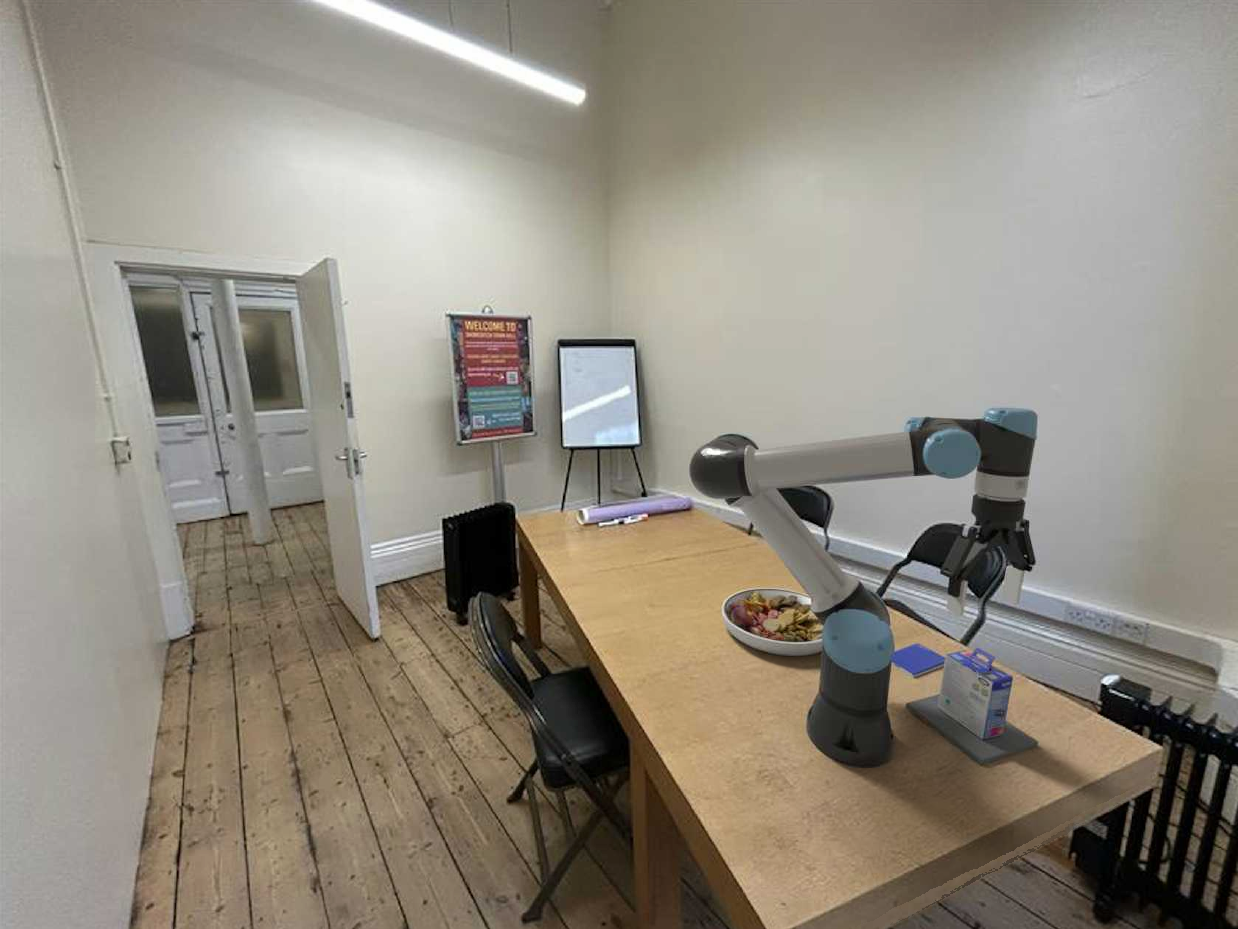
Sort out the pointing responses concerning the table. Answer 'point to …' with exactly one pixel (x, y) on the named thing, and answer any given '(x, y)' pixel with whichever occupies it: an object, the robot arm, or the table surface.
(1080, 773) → the table surface
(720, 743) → the table surface
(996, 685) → the ink cartridge box
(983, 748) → the rubber mat
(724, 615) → the bowl
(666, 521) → the table surface
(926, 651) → the blue book
